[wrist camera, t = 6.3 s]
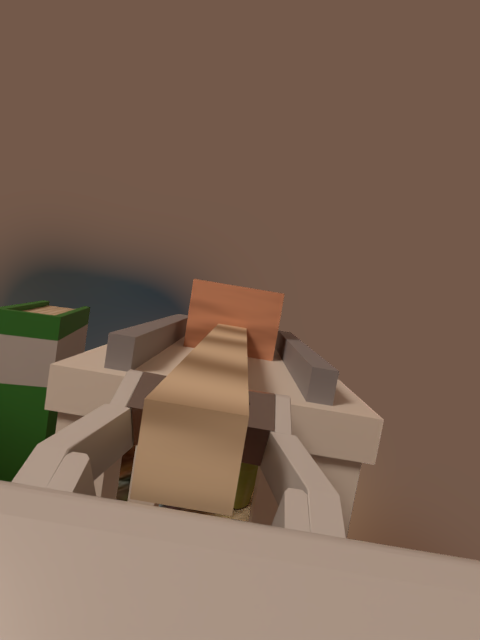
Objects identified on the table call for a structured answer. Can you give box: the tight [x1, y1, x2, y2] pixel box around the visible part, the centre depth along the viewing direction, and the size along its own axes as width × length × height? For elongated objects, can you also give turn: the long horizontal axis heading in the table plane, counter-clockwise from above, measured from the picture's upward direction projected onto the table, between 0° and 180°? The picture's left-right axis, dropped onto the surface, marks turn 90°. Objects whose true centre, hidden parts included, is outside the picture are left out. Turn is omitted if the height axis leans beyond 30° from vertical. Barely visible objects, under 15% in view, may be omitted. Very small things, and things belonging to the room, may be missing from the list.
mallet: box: [130, 279, 284, 516], centre depth 22 cm, size 29×8×6 cm, turn 179°
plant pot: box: [233, 463, 258, 509], centre depth 51 cm, size 9×9×9 cm
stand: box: [44, 314, 384, 538], centre depth 30 cm, size 22×18×27 cm
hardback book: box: [0, 301, 90, 482], centre depth 51 cm, size 18×7×24 cm, turn 13°
